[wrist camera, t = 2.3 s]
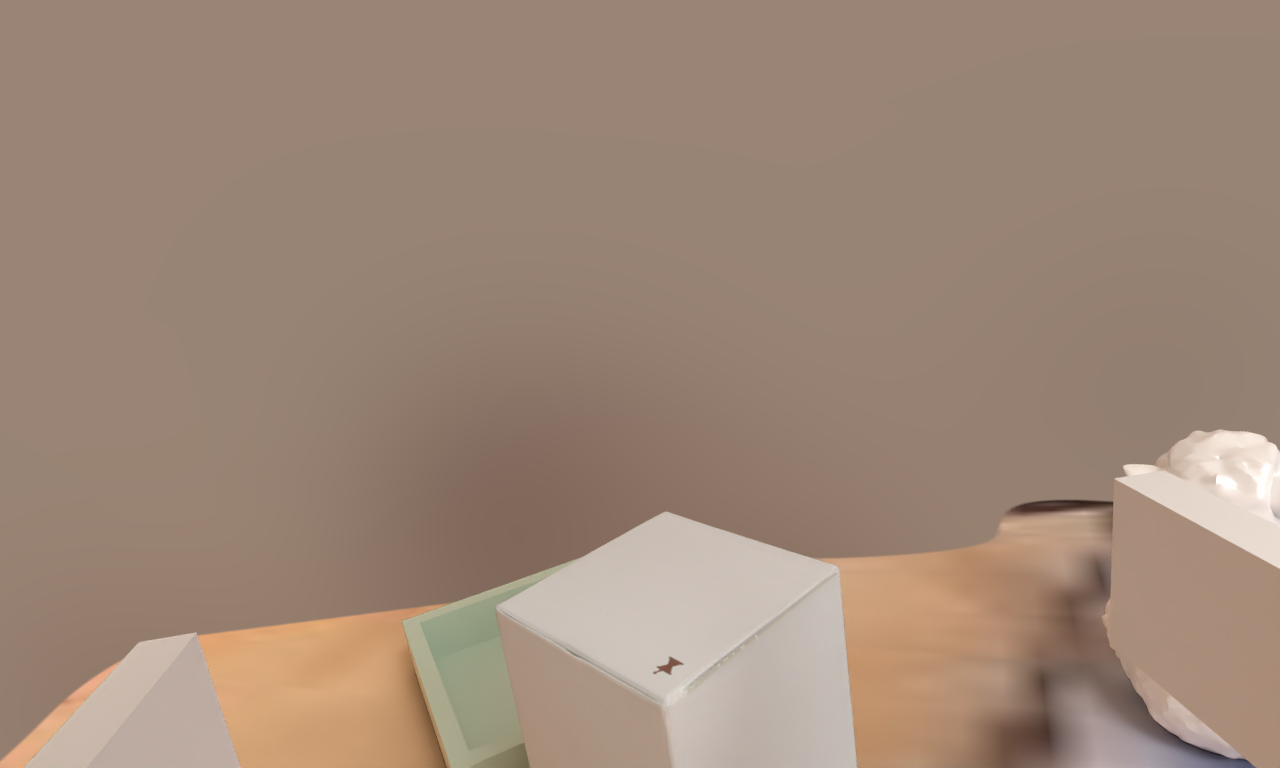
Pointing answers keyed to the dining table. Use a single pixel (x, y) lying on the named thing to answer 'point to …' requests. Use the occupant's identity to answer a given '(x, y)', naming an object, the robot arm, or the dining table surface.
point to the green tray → (470, 678)
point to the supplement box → (682, 655)
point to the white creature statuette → (1243, 478)
